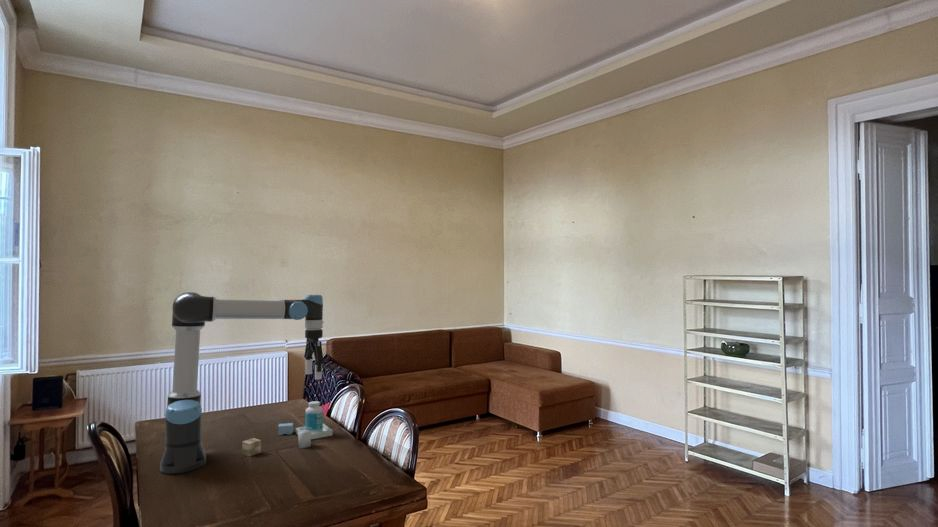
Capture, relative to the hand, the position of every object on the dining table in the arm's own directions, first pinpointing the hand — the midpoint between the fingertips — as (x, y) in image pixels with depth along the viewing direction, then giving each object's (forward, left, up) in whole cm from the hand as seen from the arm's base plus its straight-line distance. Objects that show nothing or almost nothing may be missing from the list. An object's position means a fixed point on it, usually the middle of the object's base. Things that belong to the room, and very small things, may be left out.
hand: (313, 376), depth 228 cm
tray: (0, 0, -26) cm, 26 cm away
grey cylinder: (-8, -13, -26) cm, 30 cm away
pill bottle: (0, 0, -25) cm, 25 cm away
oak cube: (-28, -9, -26) cm, 39 cm away
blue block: (-10, +9, -26) cm, 29 cm away
